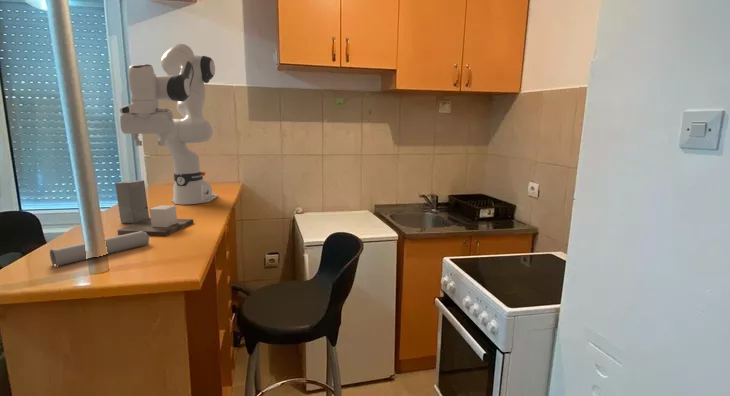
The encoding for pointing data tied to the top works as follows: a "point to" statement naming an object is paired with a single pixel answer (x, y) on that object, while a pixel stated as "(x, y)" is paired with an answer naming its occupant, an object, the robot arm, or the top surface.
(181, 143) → the robot arm
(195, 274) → the top surface
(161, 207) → the grey cube
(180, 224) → the peg board
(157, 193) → the top surface
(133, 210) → the skincare box
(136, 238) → the tube
